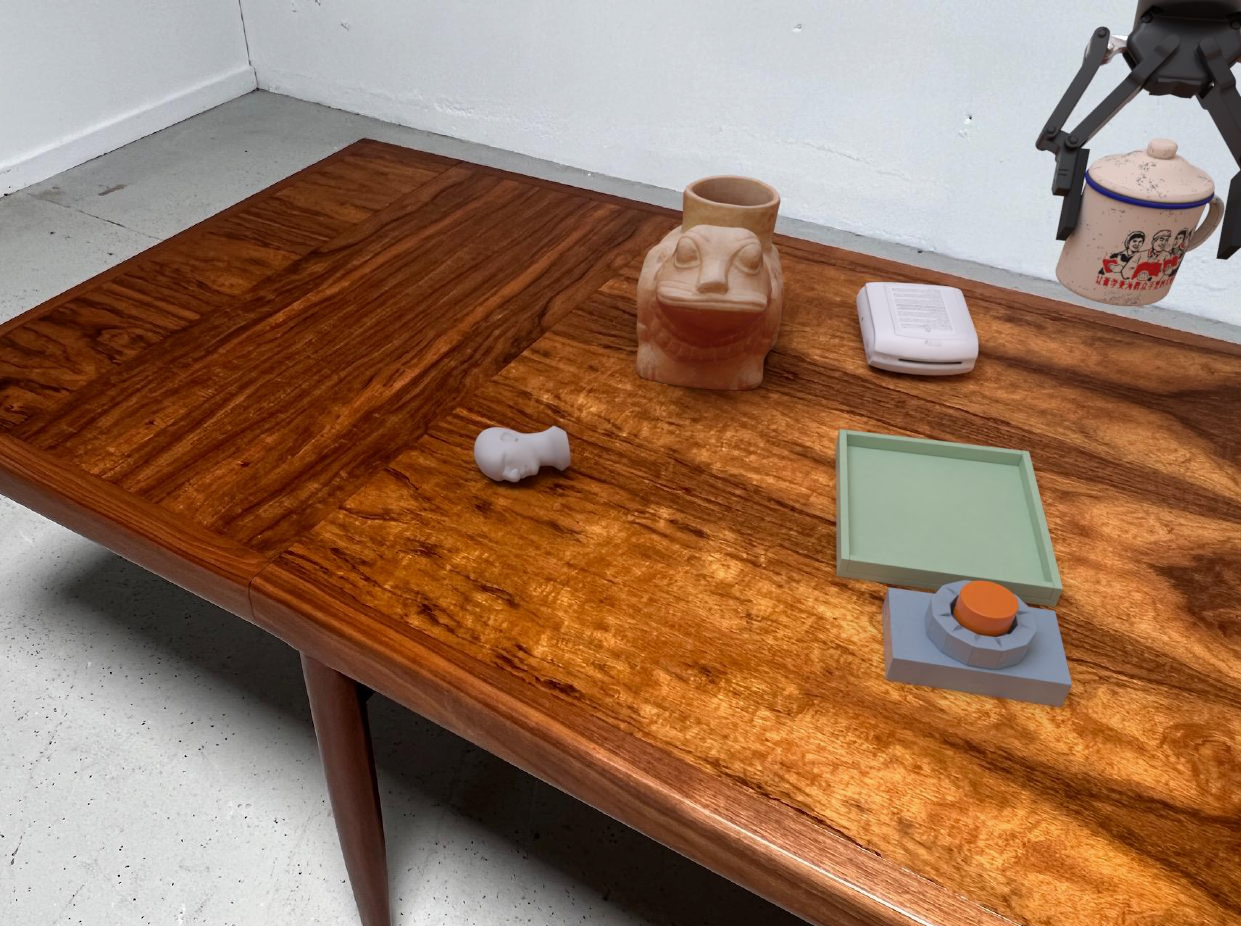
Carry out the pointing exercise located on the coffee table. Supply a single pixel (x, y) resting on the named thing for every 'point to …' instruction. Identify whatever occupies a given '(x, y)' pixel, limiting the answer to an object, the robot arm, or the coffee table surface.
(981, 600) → the button
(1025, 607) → the control block
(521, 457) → the smooth white sculpture
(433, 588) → the coffee table surface
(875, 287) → the photo printer
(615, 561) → the coffee table surface
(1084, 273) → the teacup with lid
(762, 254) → the ceramic vessel
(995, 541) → the tray
